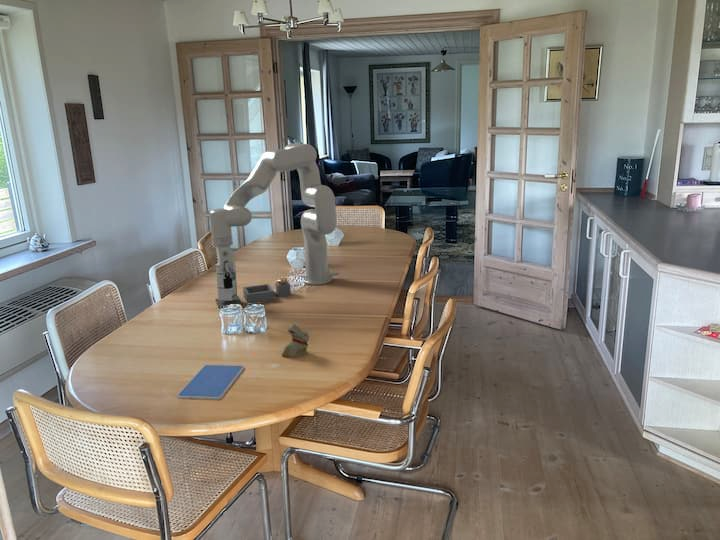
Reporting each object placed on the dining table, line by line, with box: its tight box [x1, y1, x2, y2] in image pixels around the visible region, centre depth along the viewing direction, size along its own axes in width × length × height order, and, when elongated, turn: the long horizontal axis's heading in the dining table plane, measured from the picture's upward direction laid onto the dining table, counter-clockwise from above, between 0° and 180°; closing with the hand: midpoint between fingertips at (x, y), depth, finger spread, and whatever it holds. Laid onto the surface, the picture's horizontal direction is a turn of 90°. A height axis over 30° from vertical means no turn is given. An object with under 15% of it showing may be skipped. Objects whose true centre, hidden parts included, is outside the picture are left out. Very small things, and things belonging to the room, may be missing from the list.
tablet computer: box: [176, 364, 245, 401], centre depth 158 cm, size 19×13×1 cm, turn 172°
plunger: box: [276, 277, 288, 285], centre depth 231 cm, size 4×4×6 cm
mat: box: [215, 295, 243, 309], centre depth 225 cm, size 9×11×1 cm
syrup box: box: [215, 261, 238, 301], centre depth 223 cm, size 6×6×14 cm
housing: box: [242, 280, 292, 304], centre depth 230 cm, size 18×11×5 cm, turn 109°
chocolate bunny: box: [281, 323, 310, 358], centre depth 174 cm, size 6×8×10 cm
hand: (227, 284), depth 224 cm, fingers closed on syrup box, 7 cm apart
